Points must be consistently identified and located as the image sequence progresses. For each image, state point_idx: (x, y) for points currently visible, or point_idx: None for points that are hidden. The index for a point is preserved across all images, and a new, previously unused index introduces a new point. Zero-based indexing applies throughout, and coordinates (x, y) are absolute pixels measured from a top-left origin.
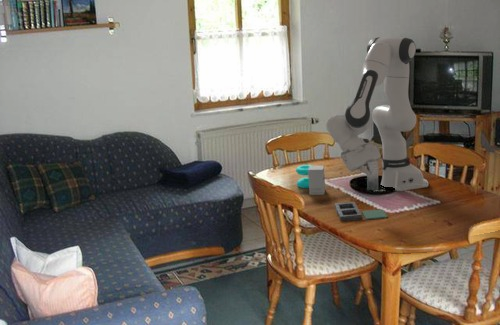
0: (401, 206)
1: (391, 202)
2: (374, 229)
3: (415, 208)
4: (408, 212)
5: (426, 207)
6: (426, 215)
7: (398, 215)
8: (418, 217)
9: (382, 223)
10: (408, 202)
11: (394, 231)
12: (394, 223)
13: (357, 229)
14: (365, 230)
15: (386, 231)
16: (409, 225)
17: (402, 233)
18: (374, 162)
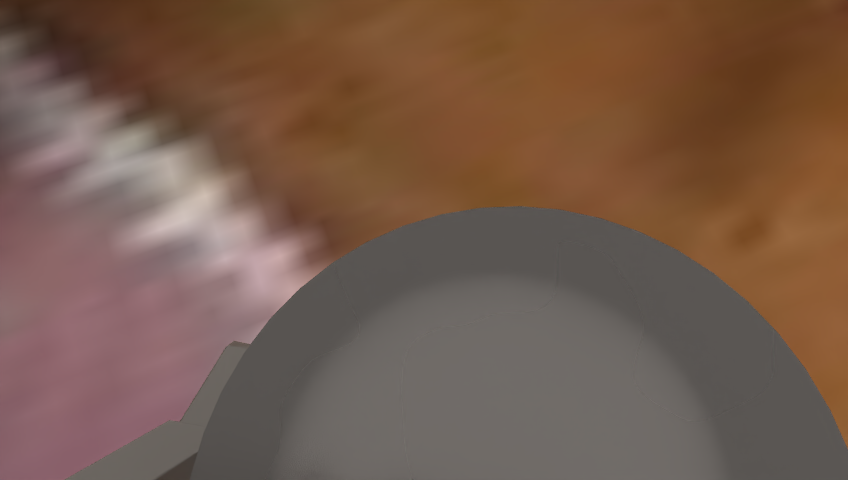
0: (146, 267)
1: (58, 399)
2: (762, 267)
3: (165, 140)
4: (277, 158)
5: (118, 69)
6: (299, 13)
7: (375, 208)
8: (363, 50)
9: None
10: (25, 248)
11: (720, 108)
12: (563, 170)
13: (839, 407)
14: (822, 329)
15: (752, 162)
16: (553, 53)
17: (727, 42)
18: (708, 282)
